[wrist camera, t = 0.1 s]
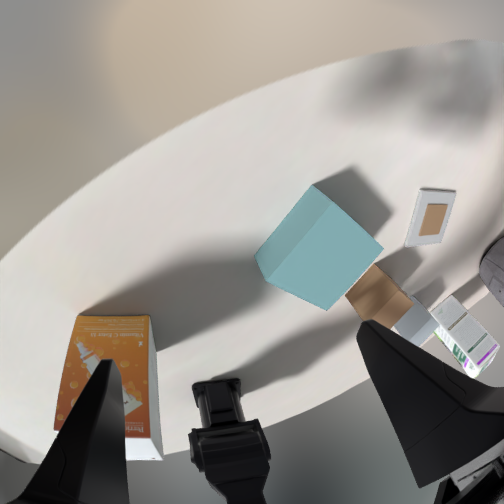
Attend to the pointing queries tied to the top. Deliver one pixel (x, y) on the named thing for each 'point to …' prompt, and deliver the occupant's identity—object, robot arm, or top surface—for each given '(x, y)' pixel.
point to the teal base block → (316, 251)
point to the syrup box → (464, 336)
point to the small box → (132, 373)
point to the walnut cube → (379, 298)
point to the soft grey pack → (494, 270)
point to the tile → (430, 217)
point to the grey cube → (416, 323)
